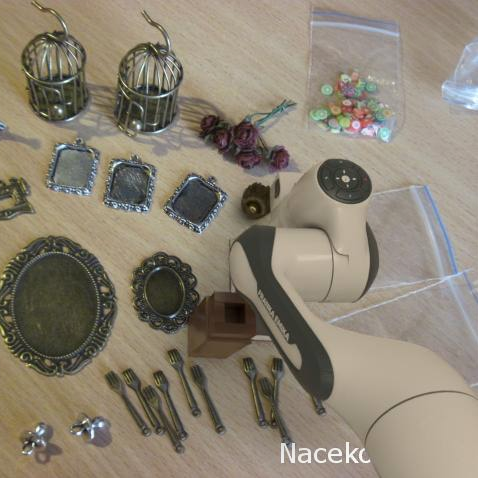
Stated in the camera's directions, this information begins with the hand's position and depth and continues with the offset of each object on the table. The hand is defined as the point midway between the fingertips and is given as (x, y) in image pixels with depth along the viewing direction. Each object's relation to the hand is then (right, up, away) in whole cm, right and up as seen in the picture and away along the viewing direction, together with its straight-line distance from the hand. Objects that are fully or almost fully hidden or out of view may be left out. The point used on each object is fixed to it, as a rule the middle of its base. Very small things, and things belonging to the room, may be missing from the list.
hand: (273, 252), depth 95 cm
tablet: (+3, -9, +24) cm, 25 cm away
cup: (+1, +8, +30) cm, 31 cm away
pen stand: (-10, -18, +19) cm, 28 cm away
